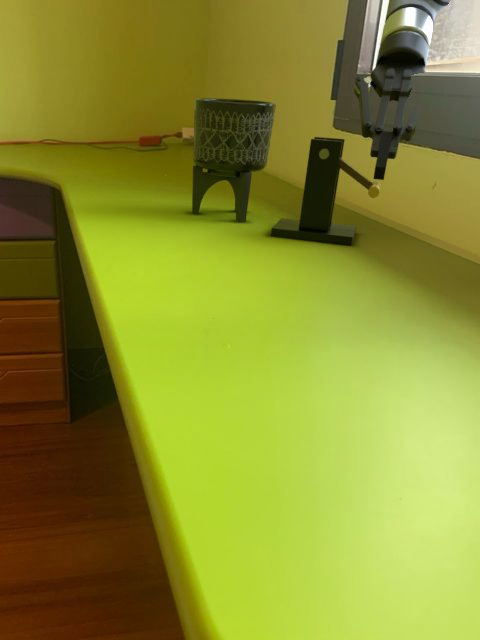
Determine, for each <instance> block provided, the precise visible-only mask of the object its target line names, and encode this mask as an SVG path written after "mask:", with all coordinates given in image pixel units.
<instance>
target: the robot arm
mask: <svg viewBox="0 0 480 640" xmlns="http://www.w3.org/2000/svg"><path fill="white" fill-rule="evenodd" d="M450 1H451V0H388V4H387V9H386V15H385V19H384V25H383V27H382V33H381V38H380V43H379V49H378V51H377V52H378V53H377V56H376V57H377V58H376V61H375V67H374V68H373V69H372V71H371V72H370V74H369V75H368V76H367V77H363V76H361V75H358V76H356V77H355V79H354V88H353V93H354V94H355V97H356V98H357V99H358V107H359V117H360V118H359V119H360V127H361V136H362V138H365V139H368V138H370V139H371V140H372V142H371V147H370V153H369V155H370V158H376V161H375V167H374V172H373V180H380V181H384V180H385V175H386V171H387V165H388V161H389V160H395V159H396V158H397V154H398V149H399V144H400V142H402V141H405V142H410V141H412V140H413V138H414V136H415V134H416V132H417V130H416V127H417V124H418V121H419V118H420V116H419V113H418V112H419V111H418V108H417V105H416V106H415V108H414V110H413V112H412V114H411V116H410V118H409V120H408V122H407V124H406V125H405V126H403V123H404V118H405V113H406V108H407V103H408V100H407V98H408V97H409V95H410V92H411V90H412V85H411V82H410V81H411V76H412V75H414V74H418V73H424V72H426V73H427V71H426V69H427V68H426V67H427V63H428V57H429V52H430V51H429V50H430V46H431V41H432V35H433V31H434V30H433V29H434V25H435V19H436V16H437V15H438V13H440V12H441V11H443V10H444V9H445V8H446V7H448V6H449V5H450V4H449V2H450ZM448 4H449V5H448ZM447 5H448V6H447ZM445 6H446V7H445ZM444 7H445V8H444ZM443 8H444V9H443ZM371 87H372V88H373V90H374V91H375V93H376V94H377V97H379V98H380V102H379V107H378V112H377V116H376V121H375V124H374V123H373V121H372V120H373V119H372V112H371V111H372V110H371V99H370V91H371ZM392 101H395V102H397V106H396V111H395V115H394V116H395V117H394V122H393V126H392V127H393V128H392V131H389V130H388V131H387V130H384V129H385V123H386V119H387V114H388V110H389V104H390V102H392ZM415 131H416V132H415Z"/></svg>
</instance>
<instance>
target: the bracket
mask: <svg viewBox="0 0 480 640" xmlns="http://www.w3.org/2000/svg"><path fill="white" fill-rule="evenodd" d="M324 139H326V140H324ZM345 140H346V139H345V138H337V137H336V138H335V137H324V136H314V137H313V138H311V139H310V144H309V151H308V157H307V165H306V173H305V179H304V180H305V181H304V186H303V193H302V202H301V209H300V216H299V219H293V218H285V217H281V218H279V220H278V221H277V222H276V223H275V224H274V225H273V226H272V228H271V230H270V237H276V238H284V239H293V240H294V239H295V240H302V241H310V242H319V243H326V244H327V243H328V244H329V243H330V244H336V245H337V244H338V245H347V246H352V244H353V241H354V238H355V236H356V232H357V226H356V225H352V224H351V225H349V224H341V223H333V215H334V209H335V202H336V197H337V192H338V184H339V179H340V171H341V169H340V168H339V161H340V158H341V159H342V160H343V152H344V147H345Z"/></svg>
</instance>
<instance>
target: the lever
mask: <svg viewBox="0 0 480 640" xmlns="http://www.w3.org/2000/svg"><path fill="white" fill-rule="evenodd" d="M324 140H326V139H324ZM339 168H340V170H341V171H343V172H344V173H345V174H347V175H348V176H349V177H351V179H353V180H355V181H356V182H357V183H359V184H360V185H361V186H362V187H364V189H366V190H368V192H367V195H368V196H369V198H372V199H375V198H377V197H378V196H379V195H380V192H381V188H382V185H381V183H380V182H379V181H373V182H372V181H371V180H370V179H369V178H368V177H366V176H365V175H363V174H362V173H360V172H359V171H358V170H357V169H356V168H355V167H353V166H352V165H351V164H349V163H348V162H347V161H346V160H343V158H342V159H341V158H340V161H339Z"/></svg>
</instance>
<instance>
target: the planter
mask: <svg viewBox="0 0 480 640" xmlns="http://www.w3.org/2000/svg"><path fill="white" fill-rule="evenodd" d="M193 104H194V107H193V109H194V112H193V113H194V114H193V116H194V117H193V148H192V149H193V151H192V152H193V154H192V158H193V159H192V160H193V163H194V164H193V165H192V191H191V193H192V196H191V197H192V199H191V214H192V215H199V214H200V209H201V205H202V201H203V198H204V196H205V195H206V193H207V192H208V191H209V189H210V188H211V187H212V186H214V185H215V184H217V183H219V182H222V181H227V182H228V183H229V185H230V186H231V189H232V191H233V194H234V212H235V221H236V222H237V223H246V222H247V215H248V207H249V200H250V192H251V186H252V185H251V183H252V177H253V176H252V175H253V173H254V172H255V173H256V172H261V171H263V170H264V169H265V168H266V167H267V164H268V159H269V153H270V146H271V139H272V133H273V127H274V121H275V114H276V107H277V104H276V103H275V102H272V101H264V100H255V99H254V100H253V99H239V98H238V99H237V98H220V97H219V98H217V97H214V98H213V97H198V98H197V97H196V98H195V99H194V103H193ZM204 170H206V171H204Z"/></svg>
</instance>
